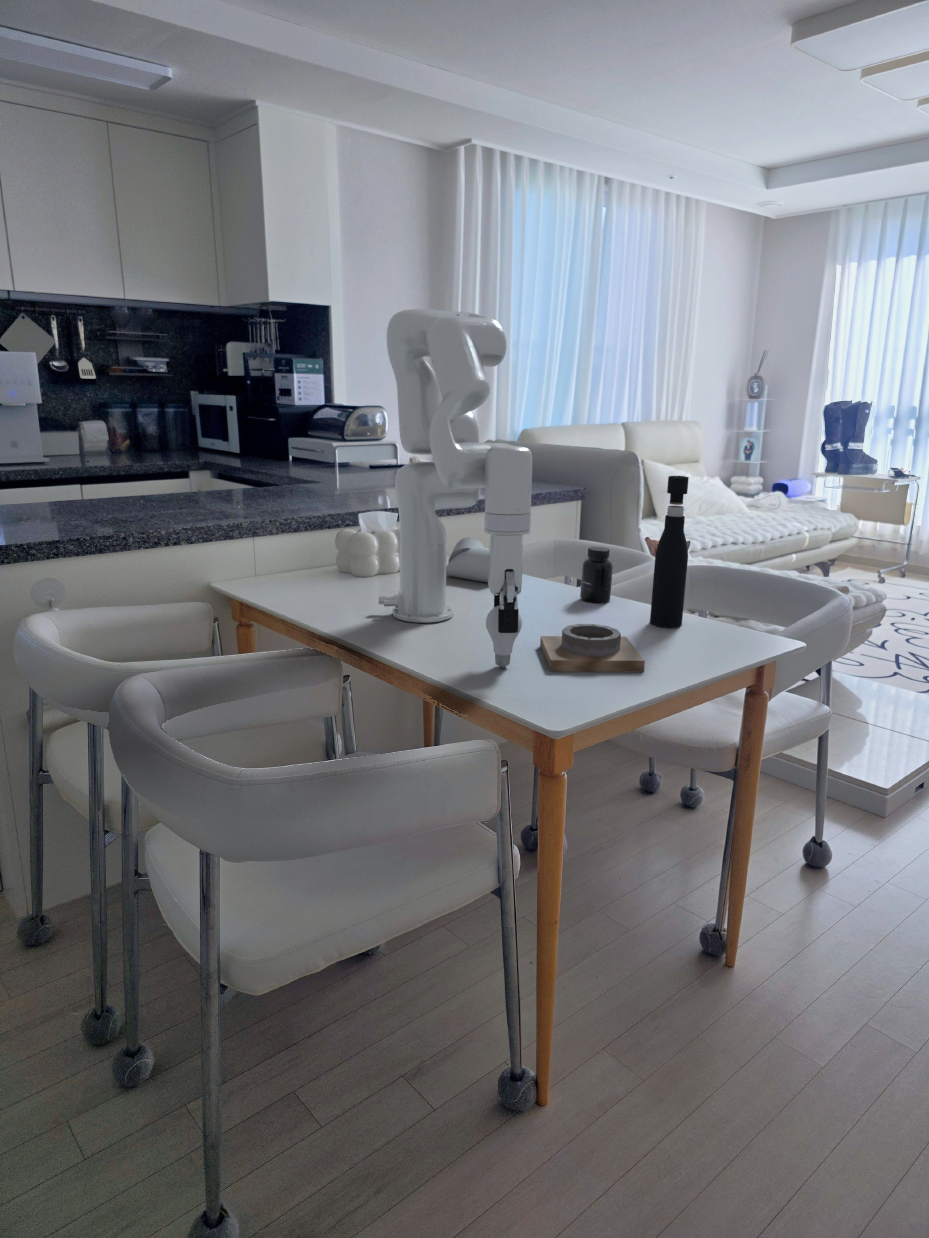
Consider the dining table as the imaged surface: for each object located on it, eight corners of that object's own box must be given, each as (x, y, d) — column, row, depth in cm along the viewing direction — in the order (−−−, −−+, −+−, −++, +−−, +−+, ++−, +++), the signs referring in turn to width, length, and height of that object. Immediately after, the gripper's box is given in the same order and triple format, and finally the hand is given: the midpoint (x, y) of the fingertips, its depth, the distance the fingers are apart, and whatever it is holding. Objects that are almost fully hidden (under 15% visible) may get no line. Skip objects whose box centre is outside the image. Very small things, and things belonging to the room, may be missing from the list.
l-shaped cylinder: (420, 572, 207) (486, 583, 196) (426, 530, 206) (493, 539, 195) (459, 575, 222) (523, 586, 211) (465, 536, 221) (529, 545, 210)
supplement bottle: (576, 602, 185) (579, 549, 182) (584, 595, 192) (587, 544, 188) (606, 605, 183) (610, 552, 180) (613, 598, 189) (616, 547, 186)
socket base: (550, 671, 139) (551, 643, 138) (540, 646, 153) (541, 620, 152) (643, 671, 140) (646, 643, 139) (625, 646, 154) (627, 621, 152)
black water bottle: (675, 629, 165) (689, 479, 157) (645, 624, 168) (657, 476, 160) (685, 622, 170) (699, 476, 162) (655, 617, 174) (667, 474, 166)
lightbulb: (517, 674, 138) (519, 611, 135) (481, 671, 139) (483, 608, 136) (522, 663, 143) (524, 602, 140) (488, 660, 145) (489, 599, 142)
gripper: (481, 516, 142) (480, 612, 147) (487, 531, 126) (486, 638, 130) (524, 516, 143) (522, 612, 147) (536, 531, 126) (533, 638, 130)
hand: (505, 624), depth 138 cm, fingers open, 9 cm apart
